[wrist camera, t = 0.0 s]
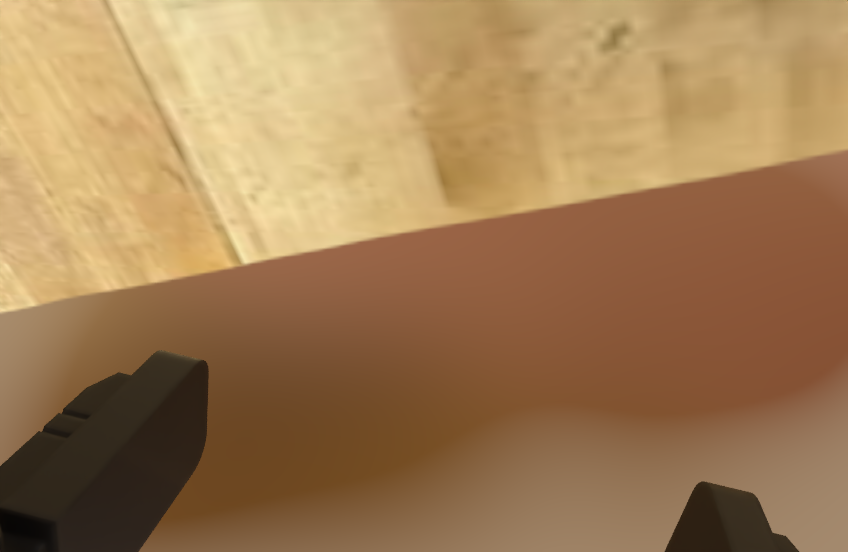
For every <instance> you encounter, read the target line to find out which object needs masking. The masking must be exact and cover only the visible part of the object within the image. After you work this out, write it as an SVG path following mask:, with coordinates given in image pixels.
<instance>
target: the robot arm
mask: <svg viewBox="0 0 848 552" xmlns="http://www.w3.org/2000/svg"><path fill="white" fill-rule="evenodd" d="M207 405H208V365H207V363H206V361H204V360H200V359H196V358H192V357H187V356H184V355H179V354H175V353H171V352H167V351H162V350H161V351H157V352H156V353H154V354H153V355H152V356H151V357H150V358H149V359H148V360H147V361H146V362H145V363H144V364H143V365H142V366H141V367H140V368H139V369H138V370H137V371H136V372H134V373H133V374H132V375H127V374H123V373H117V374H115V375H112V376H110V377H108V378H106V379H104V380H102V381H100V382H98V383H96V384H93V385H91V386H89V387H87V388H86V389H85V390H84V391H83V392H81V393H80V394H79V395H78V396H77V397H76V398H75V399H74V400H73V401H72V402H70V403H69V404H68V405H67V406H66V407H65V408H64V409H63V412H62V414H60V413H58V414H57V415H56V416H55V417H54V418H53V419H52V420H51V421H49V423H47V424H46V425H45V426H44V429H43V431H42V432H40V431H39V432H37V433H36V434H35V435H34V436H33V437H32V438H31V439H30V440H29V441H27V442H26V443H25V444H24V445H23V446H22V447H21V448H20V449H19V450H18V451H16V452H15V453H14V454H13V455H12V456H11V457H10V458H9V459H8V460H7V461H6V462H4V463H3V464H2V465H1V466H0V552H138V551H139V550H140V548H141V547H142V546H143V544H144V543H145V541H146V540H147V538H148V537H149V535H150V534H151V533H152V531H153V530H154V528H155V527H156V526H157V524H158V523H159V521H160V520H161V518H162V517H163V515H164V514H165V513H166V511H167V510H168V508H169V507H170V505H171V504H172V503H173V501H174V500H175V498H176V497H177V495H178V494H179V492H180V491H181V490H182V488H183V487H184V485H185V483H186V482H187V481H188V480H189V478H190V477H191V475H192V474H193V472H194V471H195V469H196V467H197V465H198V463H199V461H200V458H201V455H202V452H203V449H204V446H205V441H206V434H207ZM665 552H799V551H798V550H797V549H796V548H795V546H794V545H793V544H792V543H791V542H790V540H789V539H788V538H787V537H786V536H783V535H779V534H775V533H772V531H771V528H770V526H769V523H768V521H767V519H766V517H765V514H764V512H763V509H762V507H761V505H760V502H759V501H758V498H757V497H756V496H755V495H754V494H753V493H749V492H746V491H742V490H737V489H733V488H729V487H725V486H720V485H717V484H712V483H708V482H700V483H698V484H697V485H696V487H695V488H694V490H693V492H692V494H691V496H690V498H689V500H688V502H687V505H686V507H685V509H684V511H683V513H682V515H681V517H680V520H679V522H678V524H677V526H676V528H675V530H674V533H673V535H672V537H671V539H670V541H669V543H668V545H667V548H666V550H665Z"/></svg>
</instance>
